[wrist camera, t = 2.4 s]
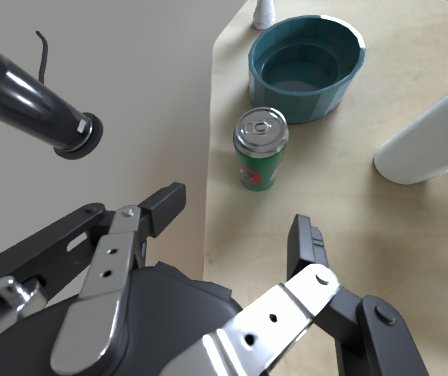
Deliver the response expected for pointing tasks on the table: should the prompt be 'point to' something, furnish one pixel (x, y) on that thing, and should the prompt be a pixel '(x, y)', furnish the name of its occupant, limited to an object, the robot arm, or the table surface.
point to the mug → (417, 148)
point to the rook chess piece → (264, 15)
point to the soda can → (260, 146)
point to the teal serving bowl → (304, 66)
